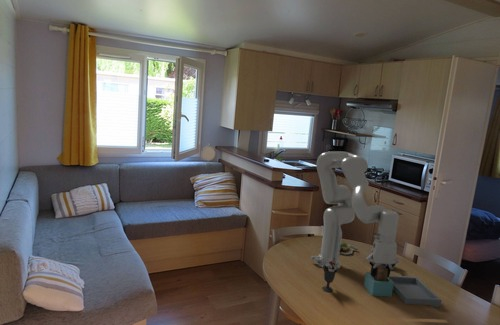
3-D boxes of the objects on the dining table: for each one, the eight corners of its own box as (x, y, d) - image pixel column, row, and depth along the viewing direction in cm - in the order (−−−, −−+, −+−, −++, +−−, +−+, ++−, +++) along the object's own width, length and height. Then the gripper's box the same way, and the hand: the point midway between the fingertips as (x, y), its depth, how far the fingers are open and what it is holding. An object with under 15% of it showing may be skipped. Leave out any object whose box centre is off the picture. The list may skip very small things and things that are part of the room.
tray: (404, 305, 150) (406, 298, 149) (384, 282, 170) (385, 275, 169) (440, 307, 151) (441, 299, 151) (415, 283, 171) (416, 276, 170)
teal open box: (371, 297, 154) (374, 282, 153) (363, 286, 163) (366, 272, 162) (391, 298, 155) (393, 282, 154) (382, 287, 164) (384, 272, 163)
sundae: (335, 287, 160) (339, 257, 158) (334, 294, 154) (338, 263, 151) (321, 284, 162) (325, 254, 160) (319, 291, 156) (323, 259, 153)
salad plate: (357, 247, 211) (358, 240, 211) (357, 259, 195) (358, 251, 194) (325, 241, 217) (326, 234, 216) (322, 251, 200) (323, 244, 199)
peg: (374, 292, 157) (378, 269, 155) (370, 287, 161) (374, 264, 159) (384, 293, 157) (388, 269, 155) (379, 288, 161) (383, 265, 159)
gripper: (370, 240, 150) (364, 279, 153) (408, 242, 152) (402, 280, 155) (363, 233, 158) (358, 270, 161) (400, 235, 159) (394, 272, 162)
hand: (379, 275), depth 158 cm, fingers open, 5 cm apart
